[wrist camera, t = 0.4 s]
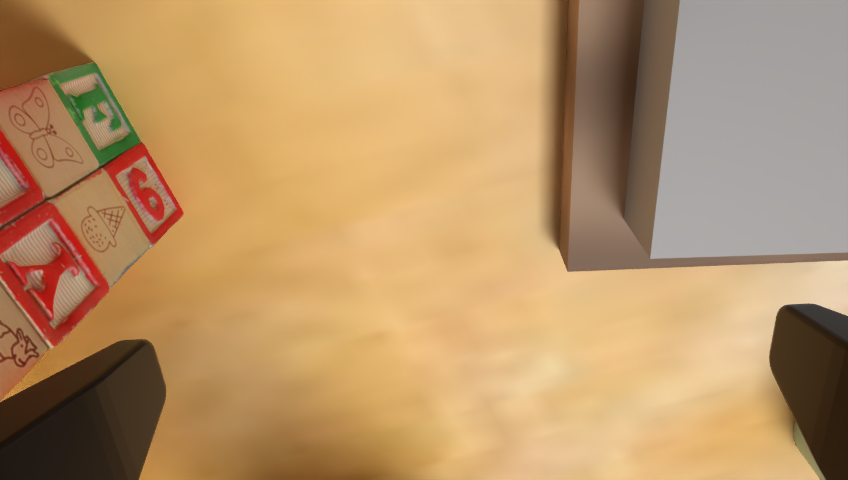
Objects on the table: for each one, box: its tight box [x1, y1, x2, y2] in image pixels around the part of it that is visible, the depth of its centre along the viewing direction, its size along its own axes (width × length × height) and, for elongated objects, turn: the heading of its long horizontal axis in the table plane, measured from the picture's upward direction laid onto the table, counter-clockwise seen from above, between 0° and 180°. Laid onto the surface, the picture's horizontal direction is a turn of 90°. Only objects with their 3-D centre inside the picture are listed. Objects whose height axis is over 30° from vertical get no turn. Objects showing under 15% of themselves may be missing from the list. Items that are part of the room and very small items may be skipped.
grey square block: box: [624, 0, 848, 259], centre depth 18 cm, size 8×8×3 cm
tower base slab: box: [559, 0, 848, 272], centre depth 21 cm, size 12×12×2 cm
